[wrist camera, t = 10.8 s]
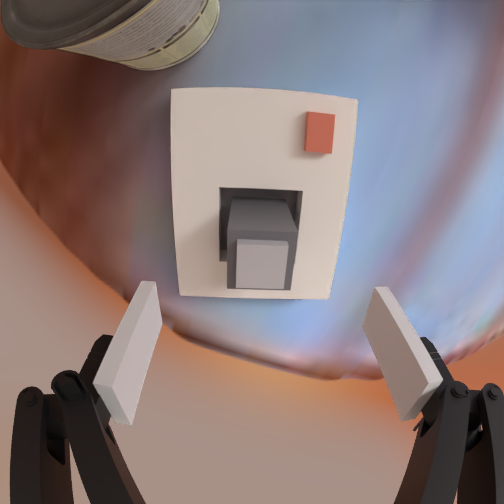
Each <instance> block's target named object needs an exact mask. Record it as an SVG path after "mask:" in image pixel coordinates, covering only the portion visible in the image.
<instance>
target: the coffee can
mask: <svg viewBox="0 0 504 504" xmlns="http://www.w3.org/2000/svg"><path fill="white" fill-rule="evenodd" d="M0 12H1V20H2V25H3V27H4V30H5V32H6V33H7V35H8V36H9V37H10V38H11V39H12V40H13V41H14V42H15V43H17V44H19V45H21V46H24V47H26V48H32V49H43V50H47V49H56V50H61V51H66V52H71V53H76V54H82V55H87V56H91V57H96V58H100V59H104V60H108V61H112V62H115V63H119V64H123V65H126V66H128V67H131V68H134V69H139V70H160V69H165V68H168V67H171V66H174V65H177V64H179V63H181V62H183V61H186V60H187V59H189V58H190V57H191V56H193V55H194V54H195V53H197V52H198V51H199V50H200V49H201V48H202V47H203V46H204V45H205V44H206V43H207V42H208V40H209V39H210V37H211V36H212V34H213V32H214V30H215V28H216V26H217V24H218V19H219V13H220V6H219V0H1V7H0Z"/></svg>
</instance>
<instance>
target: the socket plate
mask: <svg viewBox="0 0 504 504" xmlns="http://www.w3.org/2000/svg"><path fill="white" fill-rule="evenodd" d="M357 111H358V100H357V99H351V98H345V97H339V96H332V95H325V94H318V93H310V92H301V91H290V90H278V89H263V88H238V87H203V88H177V89H171V179H172V203H173V221H174V236H175V249H176V261H177V272H178V283H179V292H180V295H182V296H202V297H227V298H263V299H329V295H330V290H331V286H332V281H333V276H334V271H335V266H336V261H337V256H338V251H339V246H340V240H341V234H342V229H343V223H344V217H345V211H346V204H347V198H348V191H349V184H350V176H351V169H352V160H353V152H354V143H355V133H356V123H357ZM232 197H254V198H275V199H285V201H286V203H287V205H288V208H289V210H290V213H291V216H292V218H293V221H294V223H295V226H296V228H297V231H298V237H297V245H296V253H295V260H294V268H293V275H292V283H291V290H252V289H227V229H228V222H229V216H230V209H231V203H232Z"/></svg>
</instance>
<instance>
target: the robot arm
mask: <svg viewBox="0 0 504 504" xmlns="http://www.w3.org/2000/svg"><path fill="white" fill-rule="evenodd" d="M161 326H162V318H161V312H160V306H159V300H158V294H157V287H156V282H154V281H141V283H140V285H139V287H138V288H137V290H136V292H135V294H134V296H133V298H132V300H131V302H130V304H129V306H128V308H127V310H126V313H125V314H124V316H123V318H122V320H121V322H120V324H119V326H118V328H117V330H116V333H115V335H114V336H111V335H102V336H101V337H100V338H99V339H98V340H96V341H95V343H94V345H93V347H92V349H91V352H90V353H89V355H88V357H87V359H86V361H85V363H84V365H83V367H82V369H81V371H80V373H79V374H78V373H77V372H76V371H72V370H67V371H63V372H60V373H58V374H57V375H56V376H55V377H54V379H53V380H52V383H51V389H52V390H53V392H54V393H55V394H43V393H42V391H41V390H40V389H38V388H37V387H27V388H25V389H23V390H22V391H21V392H20V394H19V395H18V399H17V404H16V410H15V417H14V425H13V434H12V444H11V460H10V504H74V500H73V491H72V481H71V468H70V448H69V442H70V445H71V449H72V452H73V456H74V459H75V462H76V465H77V468H78V471H79V474H80V477H81V480H82V483H83V485H84V488H85V490H86V493H87V496H88V498H89V501H90V503H91V504H146V503H145V501H144V499H143V498H142V495H141V494H140V492H139V490H138V488H137V486H136V484H135V482H134V480H133V478H132V476H131V474H130V472H129V470H128V468H127V465H126V463H125V461H124V459H123V457H122V454H121V452H120V450H119V447H118V445H117V443H116V440H115V437H114V435H113V432H112V430H111V427H110V426H109V424H108V423H109V420H110V417H112V418H113V420H114V422H115V423H119V424H124V425H130V426H132V423H133V420H134V416H135V412H136V409H137V405H138V401H139V398H140V394H141V391H142V388H143V384H144V380H145V377H146V374H147V371H148V367H149V364H150V361H151V358H152V354H153V351H154V348H155V344H156V342H157V339H158V336H159V333H160V329H161ZM363 329H364V331H365V333H366V336H367V338H368V340H369V342H370V345H371V347H372V349H373V352H374V354H375V356H376V359H377V361H378V364H379V366H380V368H381V371H382V373H383V376H384V378H385V381H386V383H387V386H388V388H389V391H390V393H391V396H392V398H393V401H394V404H395V406H396V409H397V412H398V414H399V417H400V419H401V421H406V420H410V419H414V418H416V417H417V415H418V414H419V413H420V411H422V414H423V418H422V419H421V420H420V421H419V423H418V424H417V425H416V426H415V427H414V429H413V431H416V429H417V428H418V427H419V429H418V432H417V436H416V440H415V443H414V447H413V450H412V454H411V457H410V460H409V463H408V466H407V470H406V473H405V475H404V478H403V481H402V484H401V486H400V489H399V492H398V494H397V497H396V499H395V502H394V504H453V503H454V499H455V496H456V491H457V504H504V395H503V392H502V390H501V389H500V388H499V387H498V386H497V385H495V384H493V383H488V384H486V385H485V386H484V387H483V388H482V390H481V391H480V390H469V389H468V387H467V386H466V385H465V384H464V383H461V382H459V381H454V379H453V378H452V376H451V374H450V372H449V371H448V369H447V367H446V365H445V363H444V362H443V360H442V359H441V357H440V355H439V353H437V350H436V348H435V347H434V345H433V343H431V342H430V341H429V340H428V339H427V338H426V337H420V338H419V336H418V334H417V333H416V331H415V329H414V328H413V326H412V324H411V323H410V321H409V320H408V318H407V316H406V315H405V313H404V312H403V310H402V308H401V307H400V305H399V304H398V302H397V301H396V299H395V298H394V296H393V294H392V293H391V291H390V290H389V288H388V287H375V289H374V292H373V296H372V299H371V302H370V305H369V308H368V311H367V315H366V318H365V321H364V324H363ZM481 425H482V428H483V430H481ZM457 487H458V490H457Z"/></svg>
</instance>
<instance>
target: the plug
mask: <svg viewBox="0 0 504 504" xmlns="http://www.w3.org/2000/svg"><path fill="white" fill-rule="evenodd" d="M297 237H298V231H297V228H296V226H295V223H294V221H293V218H292V216H291V213H290V210H289V208H288V205H287V203H286V201H285V199H275V198H254V197H232V203H231V209H230V216H229V222H228V229H227V289H252V290H291V283H292V275H293V268H294V260H295V253H296V245H297Z"/></svg>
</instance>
